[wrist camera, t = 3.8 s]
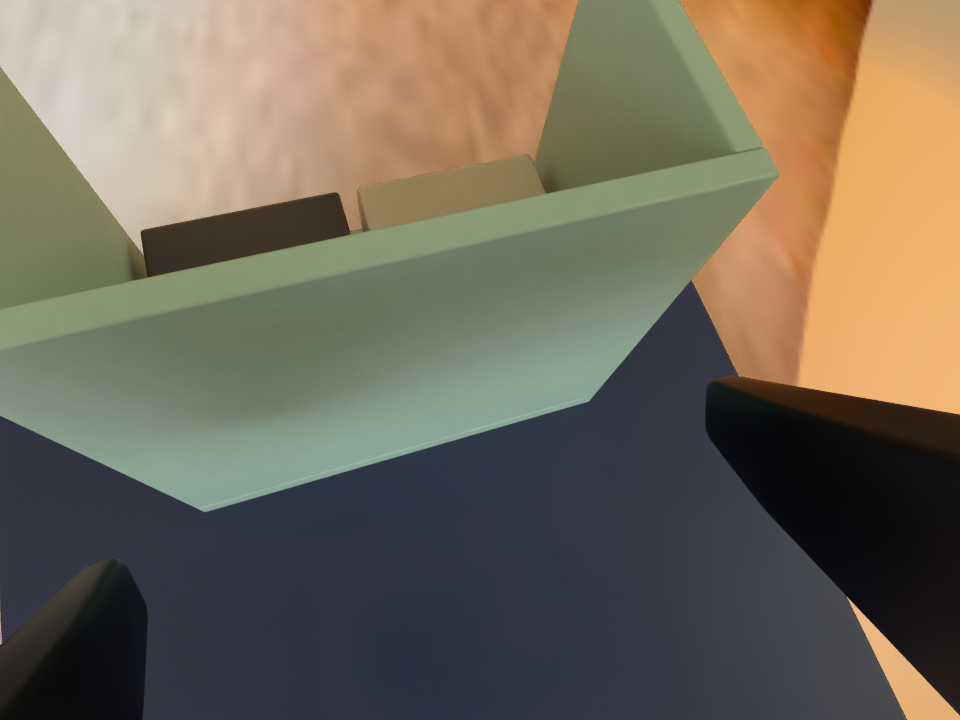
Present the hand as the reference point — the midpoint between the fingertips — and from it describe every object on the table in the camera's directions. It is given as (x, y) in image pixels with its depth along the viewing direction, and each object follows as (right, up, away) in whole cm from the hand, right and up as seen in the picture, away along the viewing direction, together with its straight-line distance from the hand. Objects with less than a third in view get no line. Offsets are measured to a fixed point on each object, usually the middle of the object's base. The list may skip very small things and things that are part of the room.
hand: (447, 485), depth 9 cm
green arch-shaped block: (-2, +2, +8) cm, 9 cm away
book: (-1, -5, +10) cm, 11 cm away
